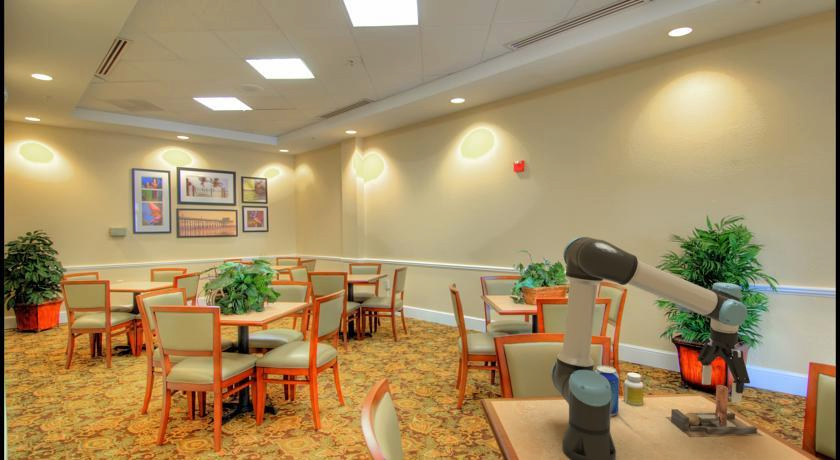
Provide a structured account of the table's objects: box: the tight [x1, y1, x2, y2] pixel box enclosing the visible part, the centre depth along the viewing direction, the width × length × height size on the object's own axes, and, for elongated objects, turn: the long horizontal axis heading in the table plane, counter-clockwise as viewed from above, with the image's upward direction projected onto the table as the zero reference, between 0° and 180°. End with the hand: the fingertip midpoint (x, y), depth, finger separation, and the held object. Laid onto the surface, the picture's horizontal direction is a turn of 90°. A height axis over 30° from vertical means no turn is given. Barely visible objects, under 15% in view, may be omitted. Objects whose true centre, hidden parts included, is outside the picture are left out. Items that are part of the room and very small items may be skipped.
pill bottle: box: [623, 372, 645, 407], centre depth 159 cm, size 6×6×12 cm
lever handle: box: [697, 384, 736, 427], centre depth 142 cm, size 10×7×13 cm
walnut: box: [684, 412, 700, 426], centre depth 142 cm, size 4×4×4 cm
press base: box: [665, 408, 764, 438], centre depth 142 cm, size 24×13×6 cm, turn 92°
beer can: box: [594, 365, 620, 418], centre depth 154 cm, size 8×8×16 cm
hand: (720, 392), depth 142 cm, fingers open, 13 cm apart
